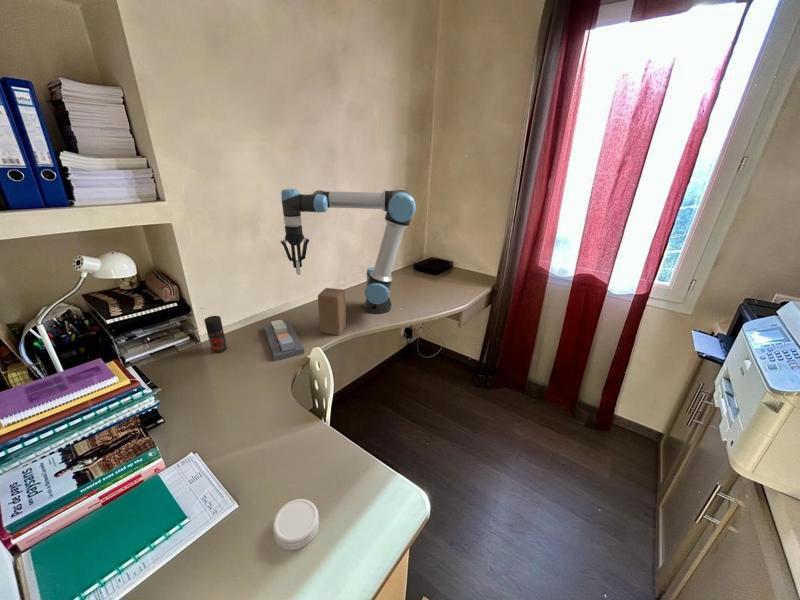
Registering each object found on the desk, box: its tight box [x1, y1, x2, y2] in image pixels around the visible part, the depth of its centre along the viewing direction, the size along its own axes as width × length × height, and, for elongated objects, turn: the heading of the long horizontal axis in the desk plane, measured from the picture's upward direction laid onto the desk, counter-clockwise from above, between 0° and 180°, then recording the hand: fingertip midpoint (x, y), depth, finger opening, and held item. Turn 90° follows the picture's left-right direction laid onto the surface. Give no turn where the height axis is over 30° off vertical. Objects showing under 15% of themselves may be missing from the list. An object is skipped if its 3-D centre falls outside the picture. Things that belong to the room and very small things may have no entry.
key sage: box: [273, 322, 287, 337], centre depth 154 cm, size 5×5×4 cm
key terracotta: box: [276, 333, 290, 344], centre depth 149 cm, size 5×5×4 cm
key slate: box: [279, 336, 294, 352], centre depth 142 cm, size 5×5×4 cm
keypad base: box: [263, 319, 305, 361], centre depth 152 cm, size 12×29×2 cm, turn 28°
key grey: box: [270, 319, 284, 330], centre depth 160 cm, size 5×5×4 cm
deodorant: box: [204, 315, 228, 354], centre depth 142 cm, size 6×6×15 cm
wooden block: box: [317, 287, 347, 336], centre depth 159 cm, size 10×10×20 cm
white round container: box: [272, 498, 320, 551], centre depth 78 cm, size 10×10×4 cm
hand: (298, 273), depth 163 cm, fingers closed
